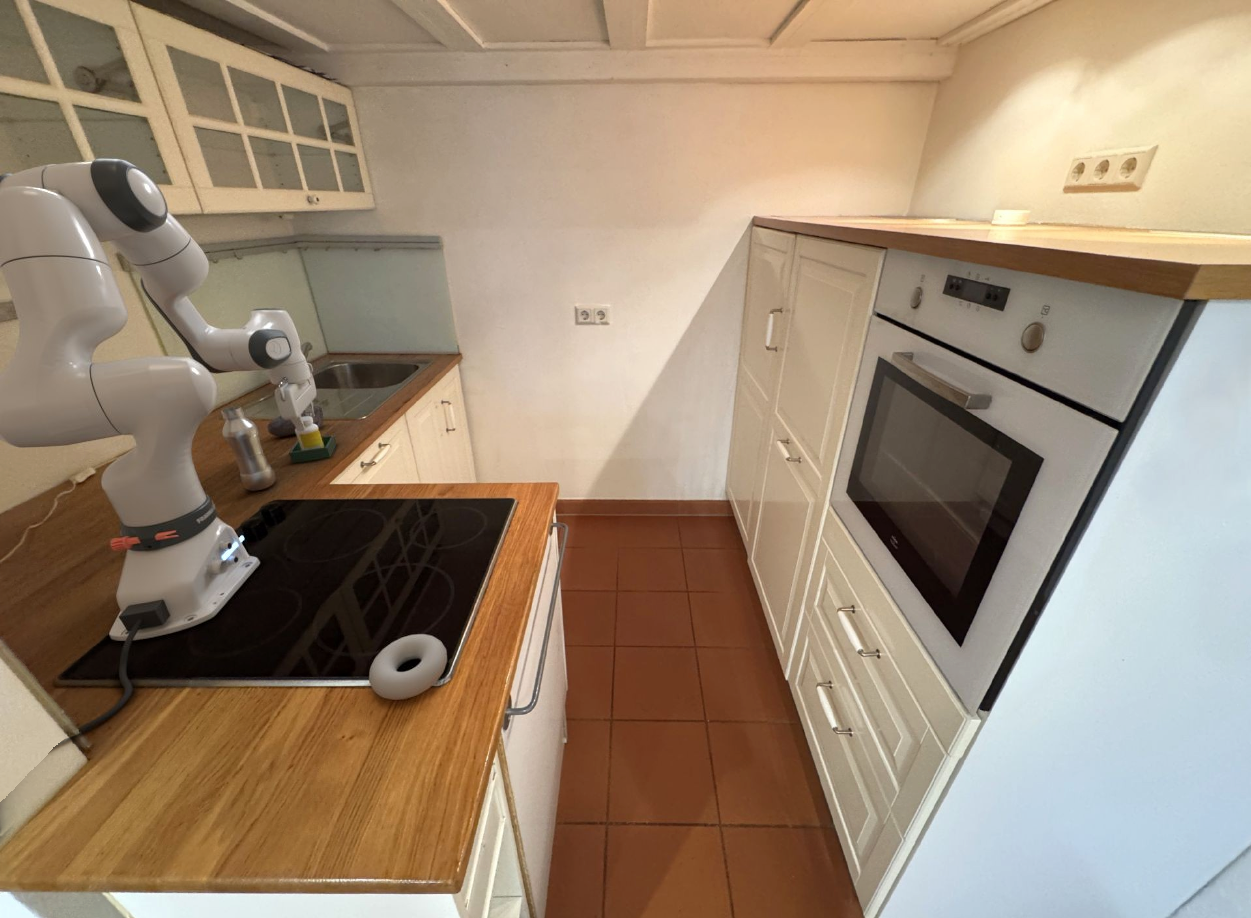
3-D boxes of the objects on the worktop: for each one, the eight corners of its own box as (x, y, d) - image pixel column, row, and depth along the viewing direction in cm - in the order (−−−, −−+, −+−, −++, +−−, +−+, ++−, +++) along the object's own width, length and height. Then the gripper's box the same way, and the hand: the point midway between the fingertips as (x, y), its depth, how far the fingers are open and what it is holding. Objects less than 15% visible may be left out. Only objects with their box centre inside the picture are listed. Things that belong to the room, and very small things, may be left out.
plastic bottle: (239, 490, 119) (206, 411, 110) (269, 478, 124) (239, 402, 115) (255, 496, 116) (221, 416, 107) (284, 483, 121) (254, 406, 112)
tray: (330, 457, 134) (326, 447, 133) (292, 463, 132) (288, 452, 130) (336, 444, 142) (333, 435, 140) (301, 449, 139) (297, 439, 138)
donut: (393, 720, 63) (463, 670, 69) (386, 702, 61) (458, 652, 68) (360, 678, 69) (427, 635, 75) (353, 660, 67) (422, 617, 74)
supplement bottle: (329, 449, 137) (319, 416, 133) (311, 457, 133) (299, 423, 129) (317, 446, 140) (306, 413, 135) (298, 454, 135) (286, 420, 131)
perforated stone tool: (272, 442, 145) (263, 419, 142) (270, 436, 149) (262, 414, 146) (329, 428, 153) (322, 407, 150) (326, 424, 157) (319, 403, 154)
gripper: (291, 382, 118) (309, 436, 124) (313, 362, 136) (328, 410, 142) (261, 385, 117) (281, 440, 123) (287, 365, 135) (303, 413, 140)
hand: (306, 424), depth 132 cm, fingers open, 8 cm apart
